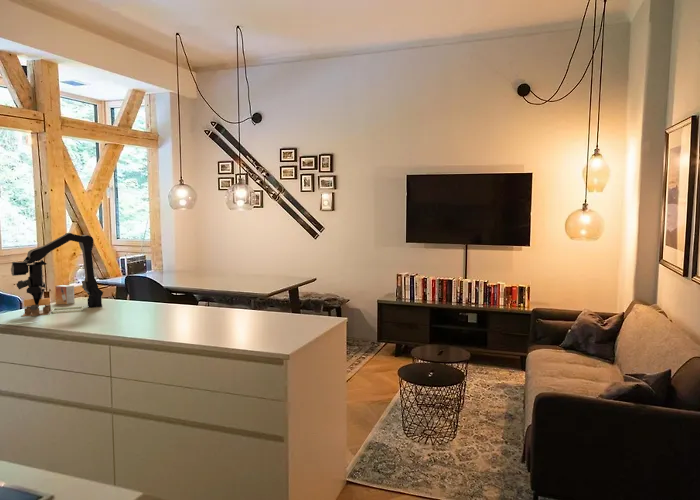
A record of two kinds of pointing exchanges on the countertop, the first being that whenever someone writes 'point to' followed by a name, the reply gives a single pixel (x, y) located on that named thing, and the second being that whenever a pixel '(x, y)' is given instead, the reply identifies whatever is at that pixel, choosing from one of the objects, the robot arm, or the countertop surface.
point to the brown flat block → (37, 311)
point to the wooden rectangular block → (42, 302)
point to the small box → (64, 294)
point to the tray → (67, 310)
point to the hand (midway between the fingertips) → (37, 304)
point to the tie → (34, 307)
